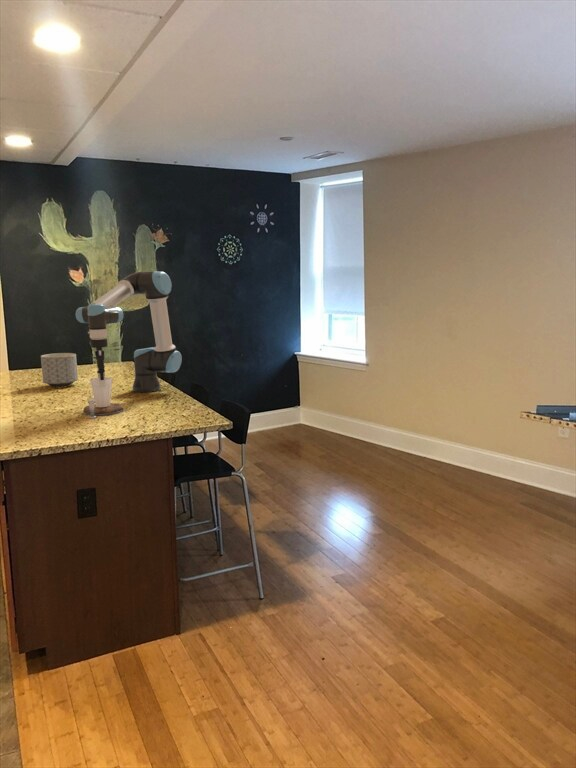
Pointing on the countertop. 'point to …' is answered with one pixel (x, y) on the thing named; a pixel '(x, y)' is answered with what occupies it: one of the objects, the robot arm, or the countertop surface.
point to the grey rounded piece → (92, 407)
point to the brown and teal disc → (104, 408)
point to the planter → (59, 369)
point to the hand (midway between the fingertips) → (102, 384)
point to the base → (104, 413)
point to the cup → (101, 392)
